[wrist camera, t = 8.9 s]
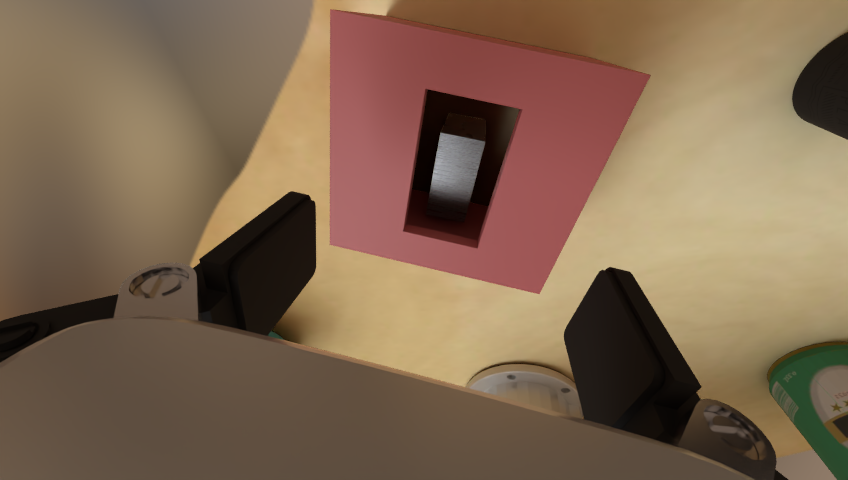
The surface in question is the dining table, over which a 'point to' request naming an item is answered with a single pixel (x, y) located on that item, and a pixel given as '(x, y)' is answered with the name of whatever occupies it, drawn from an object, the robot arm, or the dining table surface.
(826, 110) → the drinking cup
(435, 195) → the grey flat block
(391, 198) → the red slotted block
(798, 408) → the beverage can
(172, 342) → the robot arm
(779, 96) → the dining table surface
